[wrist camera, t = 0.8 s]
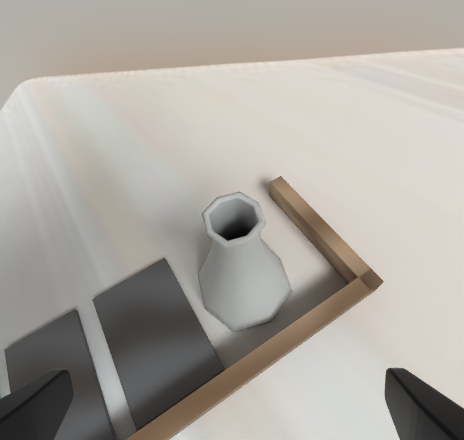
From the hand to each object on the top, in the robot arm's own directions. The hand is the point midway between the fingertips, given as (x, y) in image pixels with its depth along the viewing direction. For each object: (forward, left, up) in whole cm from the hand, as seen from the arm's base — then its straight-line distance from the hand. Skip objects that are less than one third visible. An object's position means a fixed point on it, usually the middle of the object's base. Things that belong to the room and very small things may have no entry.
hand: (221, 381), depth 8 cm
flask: (+6, -4, -13) cm, 15 cm away
